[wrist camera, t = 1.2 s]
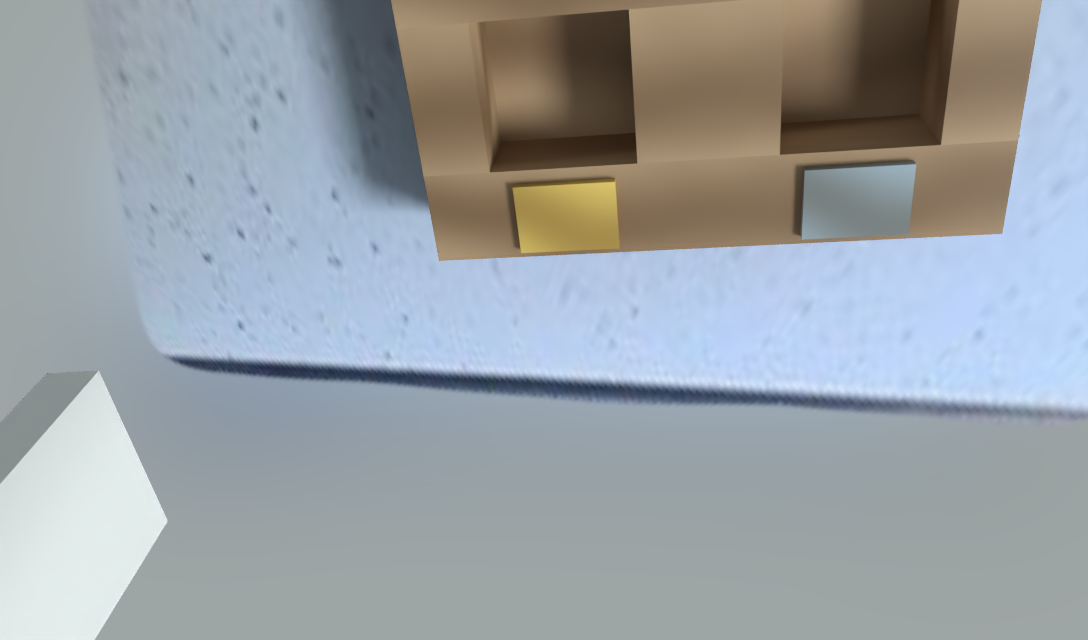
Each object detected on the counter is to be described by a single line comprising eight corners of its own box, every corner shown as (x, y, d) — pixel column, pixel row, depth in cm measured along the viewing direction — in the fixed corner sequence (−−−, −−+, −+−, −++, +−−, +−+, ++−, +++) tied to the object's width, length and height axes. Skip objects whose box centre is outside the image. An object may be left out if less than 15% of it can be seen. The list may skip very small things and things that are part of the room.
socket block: (404, -101, 32) (372, -82, 28) (1019, -166, 29) (1072, -152, 25) (457, 214, 38) (437, 264, 34) (968, 186, 35) (1005, 237, 32)
